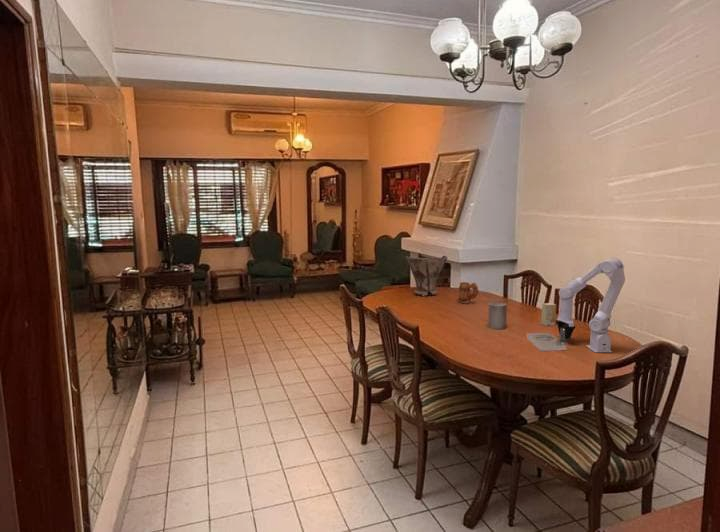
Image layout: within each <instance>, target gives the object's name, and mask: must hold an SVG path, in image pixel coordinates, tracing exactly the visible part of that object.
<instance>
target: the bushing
mask: <svg viewBox="0 0 720 532" xmlns="http://www.w3.org/2000/svg"><path fill="white" fill-rule="evenodd" d="M559 340H560V341H561V342H562V343H564V342H568V343H570V339H565V331H564V328H563V327H560V334H559Z"/></svg>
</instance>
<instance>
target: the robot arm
mask: <svg viewBox="0 0 720 532" xmlns="http://www.w3.org/2000/svg"><path fill="white" fill-rule="evenodd" d="M624 269H625V265H624V264H623V262H622V261H621V260H620V258H617V257H611V258H609V259H604V260H602V261H601V262H599V263H598V264H596V265H594V266H593V267H592V268H590V269H589V271H587V272H586V273H585V274H584V275H582V276H577V277H573V278H572V281H570V282H569V283H566V284H565V287H560V289H559V290H558V297H559V298H560V299H559V300H560V301H559V314H558V315H557V318H556V319H555V324H556V325H557V328H558V333H559V335H560V327H563V328H564V331H565V339H569V340H571V338H572V334H573V332H574V330H575V329H576V328H577V327H576V326H575V325H574V322H573V309H574V308H573V305H574V303H573V302H574V298H575V296H576V294H578V293H579V292H580V291H582V290H583V289H584V288H586V286H587V283H588V282H589V281H591V280H592V279H593V278H595V277H597V276H598V275H600V274H605V276H607V278H608V279H609V280H610V283H609V286H608V287H607V290H606V292H605V294H604V297H603V299H602V302H601V303H600V306H599V309H598V311H596V313H595V314H594V317H593V318H592V319H590V320H589V321H588V327H589V329H590V336H589V338H590V339H589V344H586V345H585V346H586V347H587V348H588V349H590V350H591V351H592V352H594V353H613V351H612V350H611V345H612V344H611V343H612V339H611V337H610V335H609V333H608V332H609V329H608V328H610V326H611V318H612V314H611V313H612V312H613V309H614V307H615V305H616V303H617V301H618V298H619V295H620V294H621V291H622V289H623V287H624V285H625V281H626V276H625V271H624Z"/></svg>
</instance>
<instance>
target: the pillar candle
mask: <svg viewBox="0 0 720 532" xmlns="http://www.w3.org/2000/svg"><path fill="white" fill-rule="evenodd" d="M507 310H508V307H507V303H506V302H503V301H490V302H489V303H488V328H490V329H493V330H505V329H507V313H508V312H507Z"/></svg>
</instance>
